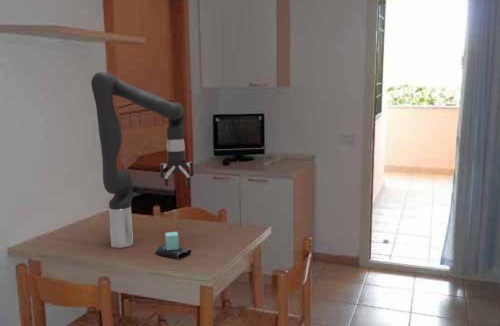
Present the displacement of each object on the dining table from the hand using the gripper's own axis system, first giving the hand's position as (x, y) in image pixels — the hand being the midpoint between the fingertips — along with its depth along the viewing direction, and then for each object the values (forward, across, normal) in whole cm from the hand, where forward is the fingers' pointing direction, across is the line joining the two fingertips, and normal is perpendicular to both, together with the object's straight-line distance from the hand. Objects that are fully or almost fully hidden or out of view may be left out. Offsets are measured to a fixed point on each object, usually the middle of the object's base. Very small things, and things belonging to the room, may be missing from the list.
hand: (177, 186), depth 216 cm
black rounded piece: (+27, -4, -12) cm, 30 cm away
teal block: (+23, -4, -12) cm, 27 cm away
